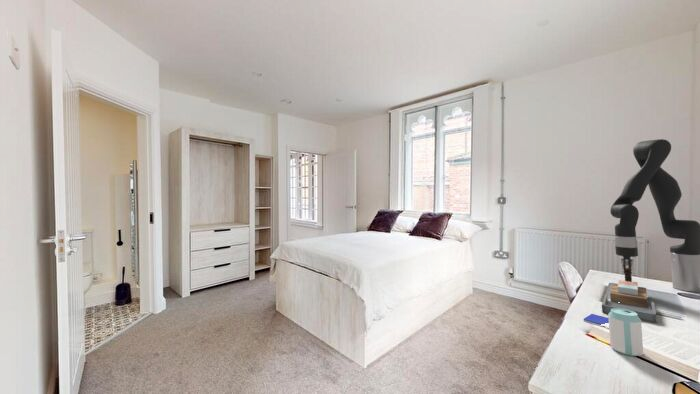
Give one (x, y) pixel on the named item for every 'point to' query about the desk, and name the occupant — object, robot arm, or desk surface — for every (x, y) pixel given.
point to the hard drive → (596, 319)
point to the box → (631, 309)
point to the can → (625, 332)
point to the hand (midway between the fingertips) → (628, 281)
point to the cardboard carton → (629, 296)
